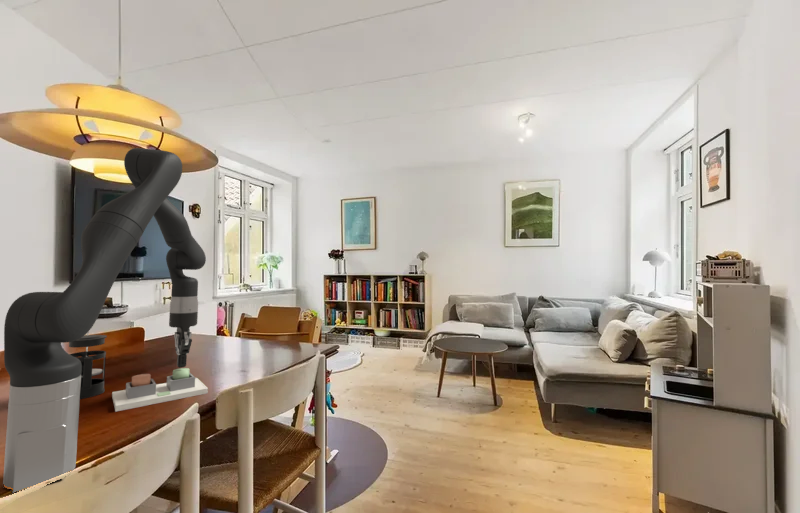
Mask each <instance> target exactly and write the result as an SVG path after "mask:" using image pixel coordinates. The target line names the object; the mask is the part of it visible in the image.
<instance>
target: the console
mask: <svg viewBox="0 0 800 513" xmlns="http://www.w3.org/2000/svg"><path fill="white" fill-rule="evenodd" d="M172 379H173V375H168V376H166V382H164V383H156V381H155V380H154V378H151V380H150V384H149V385H143V386H137V387H132V381H130V382H126V383H125V389H123V390H116V391H112V393H111V397H112V402H113V406H114V412H115V413H116V412H120V411H121V412H122V411H126V410H131V409H135V408H140V407H146V406H149V405H155V404H160V403H166V402H171V401H177V400H179V399H184V398H185V399H187V398H191V397H194V396H201V395H206V394H209V393H208V392H209V388H208V386H206V385H205V384H204V383H203V381H201V380H200V379H199V378H198V377H195V376H194V375H193V374H192V373H191V372H189V378H184V379H179V380H172Z"/></svg>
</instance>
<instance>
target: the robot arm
mask: <svg viewBox="0 0 800 513" xmlns="http://www.w3.org/2000/svg"><path fill="white" fill-rule="evenodd" d="M123 160H124V162H123V164H124V170H125V173H126V175H127V177H128V180H130V182H131V183H132V185H133V186H134V189H132V190H130V191H128V192H126V193H124V194H122V195H120V196H118V197H116V198H114V199H111V200H110V201H108V202H107V203H104V205H102V206H101V207H100V208H99V209H98V210H97V211H96V212H95V213H94V215H93V216H92V218H90V220H89V222H88V223H87V224H86V226H85V227H84V229H83V230H82V232H81V236H80V247H81V249H80V250H81V255H82V256H81V258H82V261H81V262H82V263H81V265H80V266H81V267H80V268H79V271H78V272H77V274H76V276H75V277H74V279H73V280H72V281H71V282H70V284H69V285H68V287H67V288H65V290H64V291H53V292H52V291H34V292H28V293H25V294H23V295H21V296H19V297H17V299H15V300H14V301H13V302H12V303H11V305H10V307H9V308H8V310H7V312H6V316H5V320H4V325H3V326H4V328H3V342H4V343H3V345H4V346H3V347H4V349H3V352H4V354H3V359H4V360H3V361H4V368H5V371H6V373H8V375H9V391H8V392H9V393H8V395H9V396H8V405H7V407H8V408H7V417H6V418H7V421H6V434H5V435H6V436H5V447H4V448H5V450H4V460H3V461H4V462H3V463H4V465H3V476H2V477H3V479H2V485H3V484H4V485H5V486H7V487H11V488H13V491H12V490H11V491H12V492H11V493H12V494H15V493H14V492H16V491H19V490H22V489H24V488H27V487H30V486H33V485H36V484H38V483H41V482H43V481H46V480H49V479H51V478H53V477H56V476H59V475H61V474H64V473H66V472H68V471H70V470H72V471H74V469H76V466H77V464H76V463H77V450H78V433H79V432H78V431H79V419H80V418H79V416H80V415H79V414H80V400H81V399H80V386H81V369H82V364H81V361H80V360H79V359H78V358H76V357H74V356H72V355H70V354H71V353H68V352H67V351H66V350H65V349H64V348H63V346H62V343H63V344H64V343H69V342H73V341H76V340H78V339H80V338H82V337H83V336H85V335H87V332H88V331H89V332H90V330H91V329H92V328H93V327H94V325H95V323H96V321H97V319H98V318H99V315H100V313H101V312H102V309H103V307H104V305H105V303H106V300H107V298H108V296H109V294H110V291H111V289H112V288H113V285H114V282H116V279H117V277H118V275H119V274H120V273H121V270H122V268H123V267H124V264H125V263H126V261H127V259H128V258H129V257H130V255H131V253H132V251H133V250H134V249H135V248H136V246H137V244H138V242H140V239H141V237H142V236H143V235H144V233H145V231H146V228H147V227H148V225H149V223H150V222H151V221H152V219H153V217H154V219H155V221H156V223H157V225H158V227H159V230H160V232H161V235H162V236H163V239H164V241H165V242H164V243H165V244H166V245H167V246H168V247H169V248H170V249H169V250H168V251H167V253H166V255H165V256H166V257H165V259H166V265H167V266H166V267H167V268H168V269H167V270H168V273H169V276H170V281H171V296H170V297H171V298H170V303H169V315H168V316H169V320H168V327H169V328H170V327H171V328H176V331H175V332H174V335H173V338H174V346H175V349H174V350H175V353H176V355H177V358H176V365H177V367H178V369H180V368H186V366H187V357H188V356H187V355H188V354H189V353H190V350H191V345H192V342H193V339H192V332H191V331H190V327H195V326H197V325H198V319H199V318H198V315H199V312H198V311H199V301H198V300H199V299H198V294H199V292H198V290H199V288H198V287H199V281H198V278H195V277H193V276H192V277H191V276H188V275H185V273H184V272H183V270H187V271H188V270H190V271H191V270H192V271H195V270H200V269H202V268H203V267H204V266H205V265H206V262H207V259H206V253H205V252H204V250H203V248H202V247H201V245H200V244H199V243H198V241H197V240H196V238H195V237H194V236H193V235H192V232H191V229H190V226H189V223H188V221H187V219H186V216H185V215H184V214H183V213H182V212H181V211H180V210H179V209H178V207H176V206H175V205H174V204H173V203H172V202H171V201H170V200H169V198H168V196H170V194H171V193H172V192H173V191H174V189H175V188H176V187H177V185H178V184H179V182H180V180H181V177H182V173H183V162H182V160H181V158H180V157H179V156H178V155H177V154H176V153H174V152H171V151H167V150H162V149H161V150H160V149H152V148H141V147H134V148H131V149H129V150H128V151H127V152H126V154H125V156H124V158H123ZM16 493H17V492H16Z"/></svg>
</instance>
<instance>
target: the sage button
mask: <svg viewBox="0 0 800 513" xmlns="http://www.w3.org/2000/svg"><path fill="white" fill-rule="evenodd" d="M189 373H190V368H188V367H180V368H176V369H173V370H172V376H173V379H172V380H179V379H184V378H189Z"/></svg>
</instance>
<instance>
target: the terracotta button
mask: <svg viewBox="0 0 800 513" xmlns="http://www.w3.org/2000/svg"><path fill="white" fill-rule="evenodd" d="M151 376H152V375H151V373H141V374H137V375H132V376H131V382H132V387H137V386H143V385H149V384H150V380H151V379H152V378H151Z"/></svg>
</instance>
